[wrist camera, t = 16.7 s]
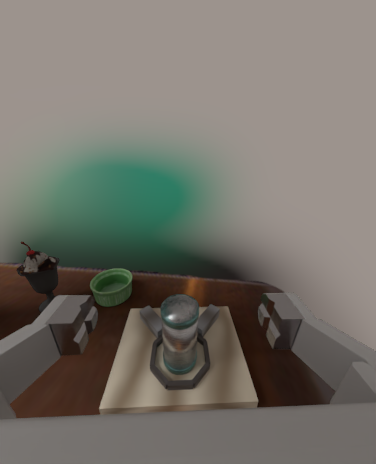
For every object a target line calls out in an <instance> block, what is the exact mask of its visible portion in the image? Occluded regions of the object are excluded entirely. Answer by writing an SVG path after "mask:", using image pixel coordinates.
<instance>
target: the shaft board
mask: <svg viewBox="0 0 376 464" xmlns="http://www.w3.org/2000/svg"><path fill="white" fill-rule="evenodd" d="M257 405H258V398H257V395H256V392H255V389H254V386H253V383H252V379H251V376H250V373H249V370H248V367H247V364H246V361H245V358H244V355H243V352H242V349H241V345H240V342H239V339H238V336H237V333H236V330H235V327H234V324H233V321H232V318H231V315H230V312H229V308H228V306H225V307H216V306H214V305H212V304H210V305H209V306H208V307H199V318H198V330H197V360H196V364H195V366H194V368H193V369H192V370H191V371H190V372H189V373H187V374H184V375H175V374H172V373H171V372H169V371H168V370H167V369H166V367H165V365H164V362H163V333H162V319H161V308H151V307H150V306H149V305H148V306H147V307H145V308H136V309H131V310H130V313H129V316H128V319H127V322H126V325H125V329H124V332H123V335H122V338H121V341H120V344H119V348H118V351H117V354H116V357H115V360H114V363H113V367H112V370H111V373H110V376H109V379H108V382H107V386H106V389H105V392H104V395H103V398H102V401H101V405H100V408H99V410H100V413H101V415H105V414H127V413H149V412H171V411H193V410H215V409H238V408H257Z"/></svg>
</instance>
